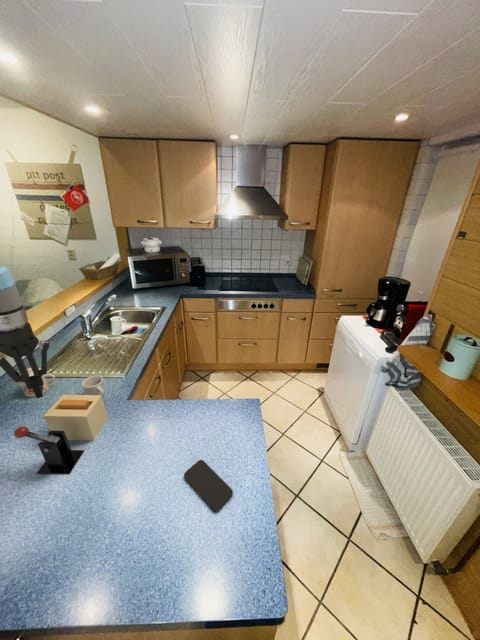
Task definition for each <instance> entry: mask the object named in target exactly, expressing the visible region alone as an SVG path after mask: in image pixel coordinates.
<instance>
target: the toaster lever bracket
mask: <svg viewBox="0 0 480 640" xmlns="http://www.w3.org/2000/svg"><path fill="white" fill-rule="evenodd" d="M47 435H48V437H50V436H51V435H54V436H57V437H60V438H61V439H60V442H59V444H58V445H56V443H55V442H43V441H39V442H38V444H37V446H38V449H39V450H40V452H41V454H42V456H43V458H44V462H43V464H42V465H41V466H40V468H39V469H38V471H36V472H35V473H36V475H71V474H72V471H73V470H74V468H75V467H76V465H77V463H78V462H79V460H80V459H81V457H82V456H83V455H84V453H85V449H72V447H71V445H70V442H69V440H67V437H66V435H65V432H64V431H50V430H48V432H47Z"/></svg>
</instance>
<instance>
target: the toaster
mask: <svg viewBox="0 0 480 640" xmlns="http://www.w3.org/2000/svg"><path fill="white" fill-rule="evenodd" d="M103 398H104V397H102V395H86V394H62V395H61V396H60V397H59V398H58V400H57V401H56V402H55V403H54V404H53V405H51V407H50V408H49V410H47V412H45V414H44V415H43V419H44V421H45V423H46V425H47V427H48V431H64V432H65V435H66V437H67V440H68V441H95V440H96V438H97V437H98V435H99V433H100V432H101V430H102V429H103V427H104V425H105V424H106V422H107V421H108V419H109V417H108V413H107V410H106V405H105V403H104V399H103ZM62 400H88V401H89V404H90V406H89V408H88V409H87V410H71V409H59V407H58V404H59V403H60V402H61V401H62Z"/></svg>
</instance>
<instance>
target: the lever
mask: <svg viewBox="0 0 480 640" xmlns="http://www.w3.org/2000/svg"><path fill="white" fill-rule="evenodd" d="M13 435H14V437H15V438H17V439H22V438H25V437H26V438H30V439H32V440H36V441H39V442H55V443H56V445H58V444H59V442H60V439H61V438H60V437H57V436H54V435H51V436H50V437H49V436H46V435H42V434H39V433H36V432H32V431H29V427H27V426H25V425H24V426H23V425H22V426H19V427H17V428H15V430H14V431H13Z"/></svg>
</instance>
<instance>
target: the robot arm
mask: <svg viewBox="0 0 480 640" xmlns="http://www.w3.org/2000/svg"><path fill="white" fill-rule="evenodd" d="M37 347H38V348H39V349H40V356H41V357H40V359H41V362H40V363H41V368H42V369H40V370H39V368H40V367H39V366H38V362H37V360H36V359H35V358H36V357H35V355H34V352H35V350H36V348H37ZM49 347H50V341H49V340H48V339H47V340H40V339H39V338H38V337H37V336H35V333H34V330H33V327H32V325H31V323H30V322H29V318H28V315H27V311H26V310H25V306H24V304H23V301H22V298H21V296H20V293H19V290H18V288H17V285H16V281H15V279H14V277H13V276H12V273H11V271H10V269H9V268H8V267H7V266H5V265H1V264H0V368H1V369H2V370H3V371H4V372H5V373H6V374H7V375H8V376H9V377H10V378H11V380H13V381H14V382H15V383H20V382H19V381H24V382H25V384H26V387H27V389H28V390H30V389H33V391H34V393H35V396H36V397H35V398H36V399H40V398H43V397H44V393H43V391H42V389H41V386H43V384H44V382H43V379H42V375H43V374H48V350H49ZM4 355H6V356H7V357H9V358H12V359H13V360H14V362H15V365H16V367H17V369H18V371H19V372H18V371H17V370H16V369H15V368H14V366H13V365H12V364H11V363H10V362H9V360H7V358H5V357H4ZM23 357H26V360H27V362H28V364H29V366H30V368H31V369H32V371H33V374H34V375H33V376H30V377H29V374H28V371H27V369H28V368H27V367H26V363H25V362H24V359H23ZM20 374H21V375H20Z"/></svg>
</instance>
